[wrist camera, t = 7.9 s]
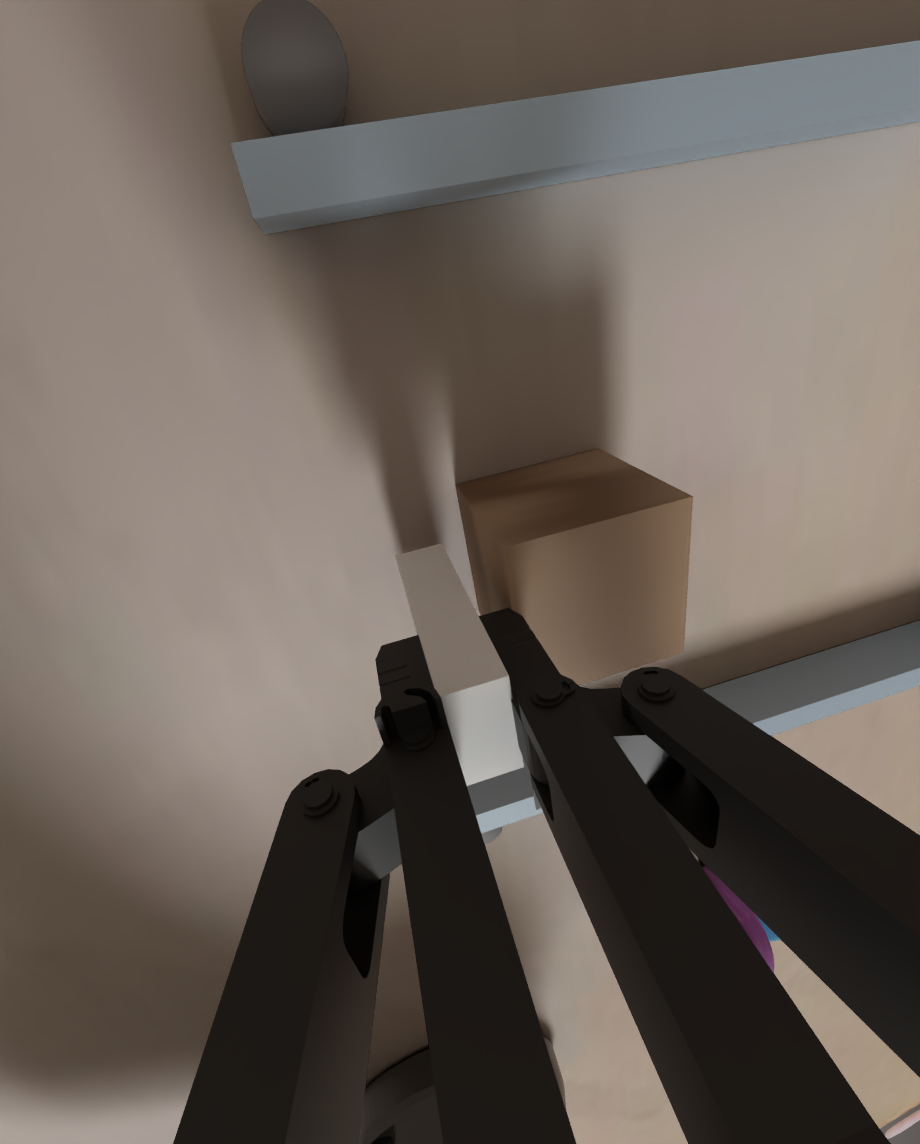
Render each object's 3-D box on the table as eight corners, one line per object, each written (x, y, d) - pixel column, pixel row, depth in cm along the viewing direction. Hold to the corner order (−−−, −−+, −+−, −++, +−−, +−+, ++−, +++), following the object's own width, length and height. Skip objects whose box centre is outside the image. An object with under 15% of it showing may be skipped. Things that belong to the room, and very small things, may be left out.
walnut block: (479, 611, 19) (525, 701, 15) (455, 484, 16) (502, 547, 12) (603, 575, 19) (683, 652, 15) (598, 448, 17) (692, 496, 13)
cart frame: (441, 824, 24) (453, 876, 22) (208, 44, 11) (179, -24, 9) (940, 659, 27) (993, 689, 25) (1225, -83, 14) (1386, -153, 12)
